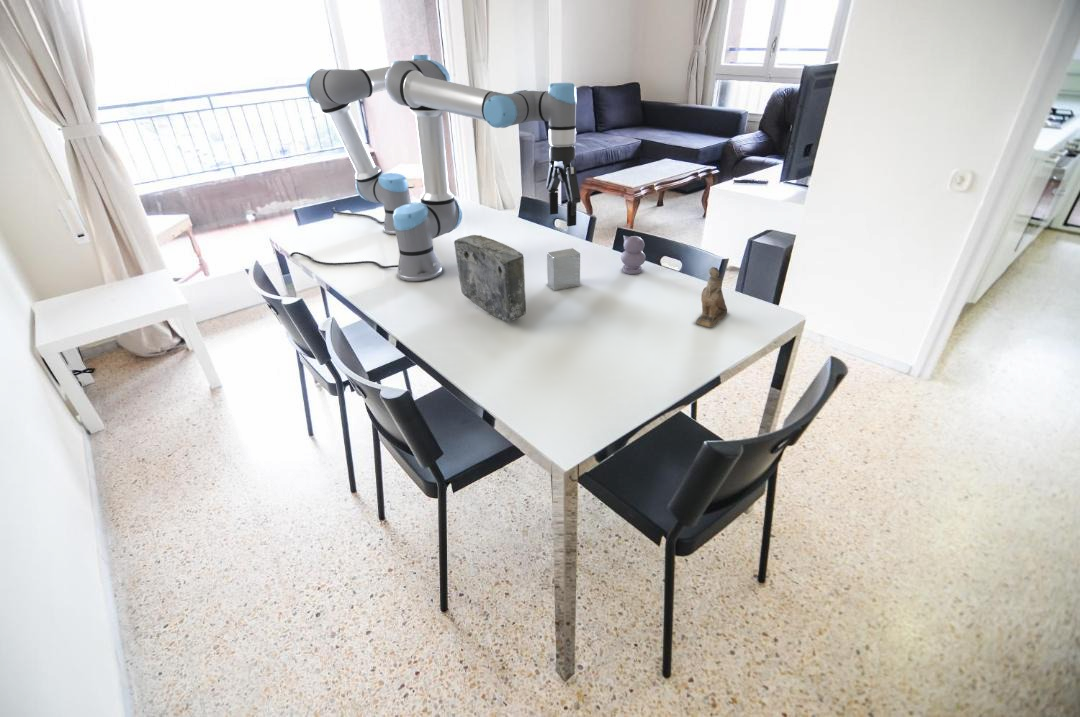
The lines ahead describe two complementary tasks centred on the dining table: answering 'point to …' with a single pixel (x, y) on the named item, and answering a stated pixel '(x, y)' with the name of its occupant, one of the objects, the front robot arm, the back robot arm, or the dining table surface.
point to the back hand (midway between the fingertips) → (433, 144)
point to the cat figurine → (633, 254)
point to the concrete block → (492, 276)
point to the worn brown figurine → (712, 301)
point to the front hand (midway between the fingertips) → (562, 219)
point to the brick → (563, 269)
